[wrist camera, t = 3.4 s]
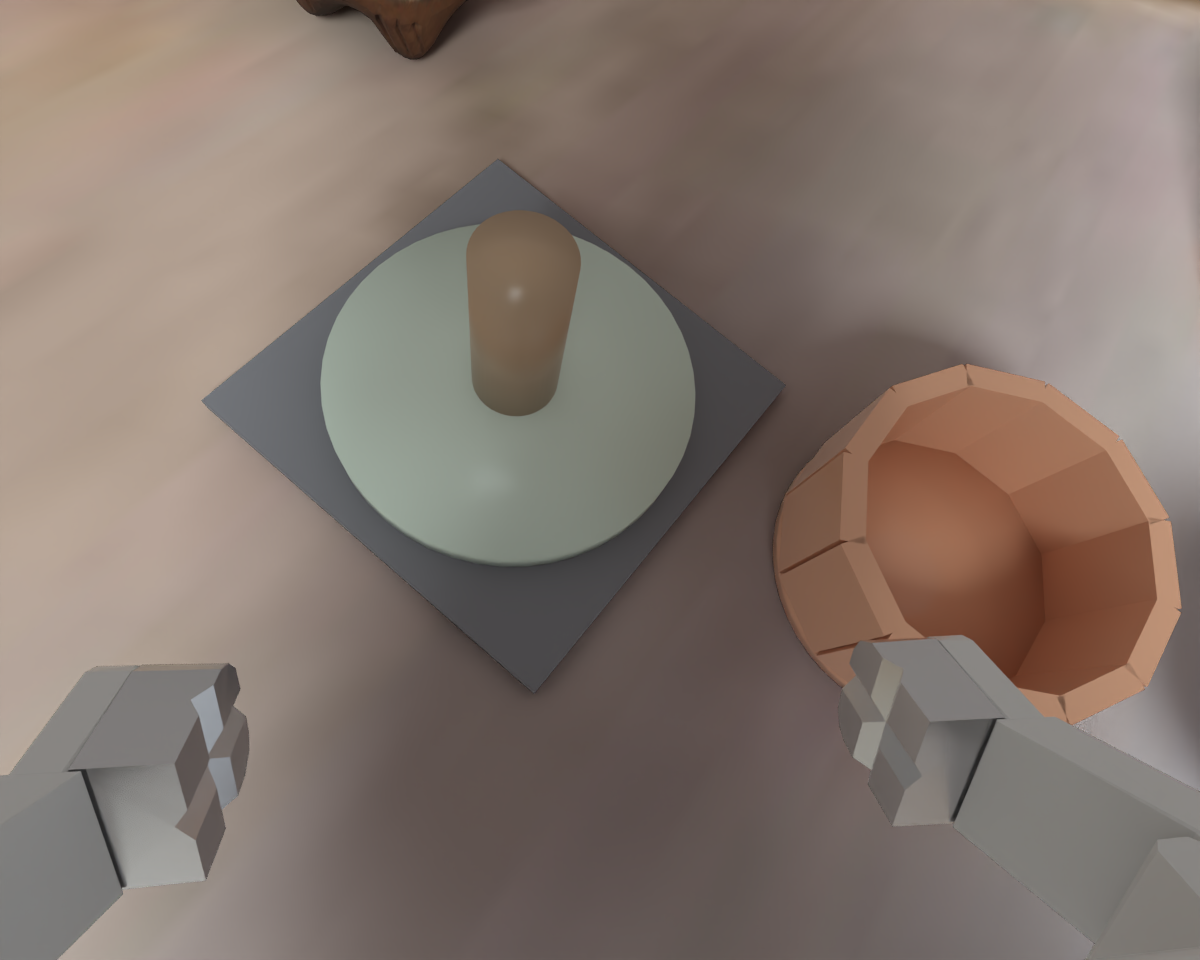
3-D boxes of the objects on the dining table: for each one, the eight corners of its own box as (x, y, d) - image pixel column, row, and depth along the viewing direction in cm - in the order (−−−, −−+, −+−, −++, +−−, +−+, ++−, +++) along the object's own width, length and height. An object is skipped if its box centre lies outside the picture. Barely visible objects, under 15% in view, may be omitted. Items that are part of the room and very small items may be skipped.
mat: (779, 391, 29) (786, 385, 28) (533, 693, 24) (535, 692, 23) (497, 169, 30) (497, 159, 30) (207, 407, 25) (201, 400, 24)
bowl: (1091, 554, 28) (1225, 515, 23) (966, 791, 25) (1092, 807, 20) (867, 381, 29) (948, 308, 24) (715, 582, 26) (772, 546, 21)
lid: (752, 384, 28) (848, 257, 20) (533, 647, 23) (554, 607, 16) (498, 187, 29) (502, 0, 22) (245, 400, 25) (140, 257, 17)
